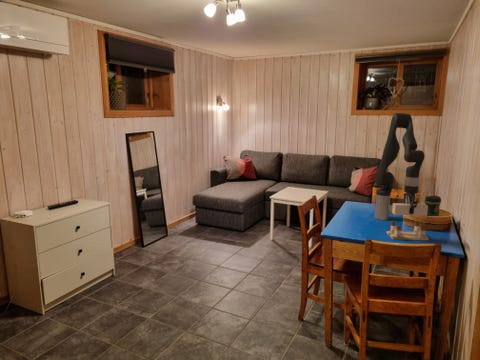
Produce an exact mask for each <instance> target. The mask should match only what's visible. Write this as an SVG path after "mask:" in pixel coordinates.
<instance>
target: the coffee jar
mask: <svg viewBox="0 0 480 360" xmlns="http://www.w3.org/2000/svg"><path fill="white" fill-rule="evenodd" d="M441 203H442V198H441V196H438V195H429V196H425V197H424V204H426V205H427V206H428V211H427V216H439V217H440V205H441Z"/></svg>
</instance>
